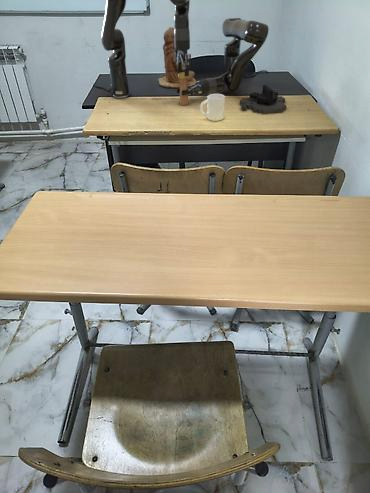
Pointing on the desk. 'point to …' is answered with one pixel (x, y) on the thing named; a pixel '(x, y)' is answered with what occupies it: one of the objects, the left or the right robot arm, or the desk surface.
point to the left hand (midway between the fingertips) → (183, 74)
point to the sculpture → (172, 63)
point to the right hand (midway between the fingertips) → (179, 92)
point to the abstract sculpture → (264, 101)
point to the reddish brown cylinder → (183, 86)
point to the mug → (214, 107)
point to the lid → (182, 75)
